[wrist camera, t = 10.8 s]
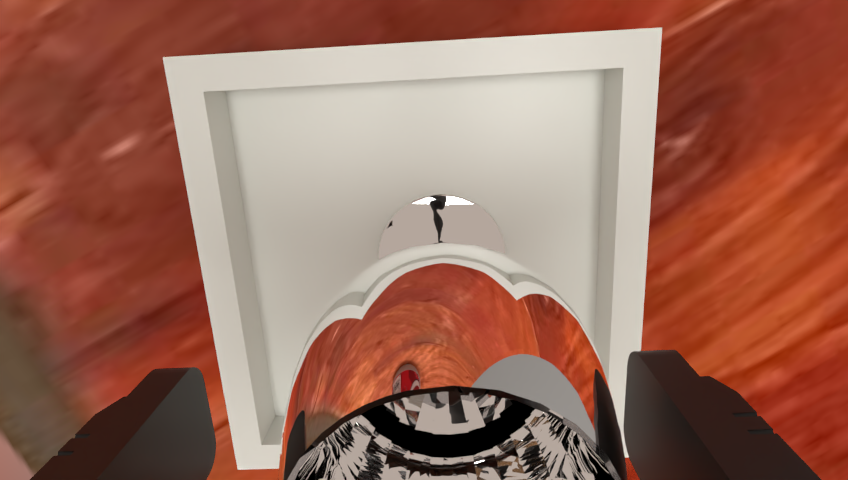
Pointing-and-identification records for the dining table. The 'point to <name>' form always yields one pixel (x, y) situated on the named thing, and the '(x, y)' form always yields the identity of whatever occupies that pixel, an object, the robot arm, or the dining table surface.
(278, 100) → the tray
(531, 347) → the wineglass
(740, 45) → the dining table surface
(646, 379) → the robot arm
